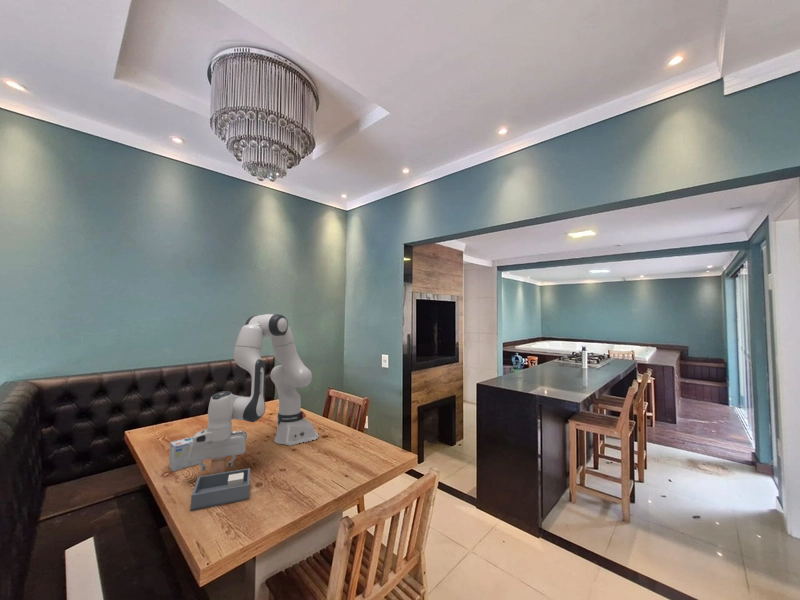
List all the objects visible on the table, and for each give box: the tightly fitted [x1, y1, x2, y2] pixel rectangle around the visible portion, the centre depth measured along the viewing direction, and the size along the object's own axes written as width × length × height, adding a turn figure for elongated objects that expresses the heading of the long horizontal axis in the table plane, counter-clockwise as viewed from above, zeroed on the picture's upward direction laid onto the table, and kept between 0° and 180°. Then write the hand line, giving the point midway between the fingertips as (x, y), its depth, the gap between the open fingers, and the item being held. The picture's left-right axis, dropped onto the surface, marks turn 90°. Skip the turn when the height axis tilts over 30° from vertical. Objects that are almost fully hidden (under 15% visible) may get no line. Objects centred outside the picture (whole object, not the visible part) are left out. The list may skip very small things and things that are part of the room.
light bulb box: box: [168, 436, 199, 473], centre depth 137 cm, size 11×7×11 cm, turn 141°
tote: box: [190, 467, 251, 512], centre depth 114 cm, size 18×14×5 cm
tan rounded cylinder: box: [210, 457, 227, 475], centre depth 127 cm, size 5×5×7 cm
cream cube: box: [228, 472, 244, 488], centre depth 116 cm, size 5×5×5 cm
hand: (217, 468), depth 127 cm, fingers open, 8 cm apart
